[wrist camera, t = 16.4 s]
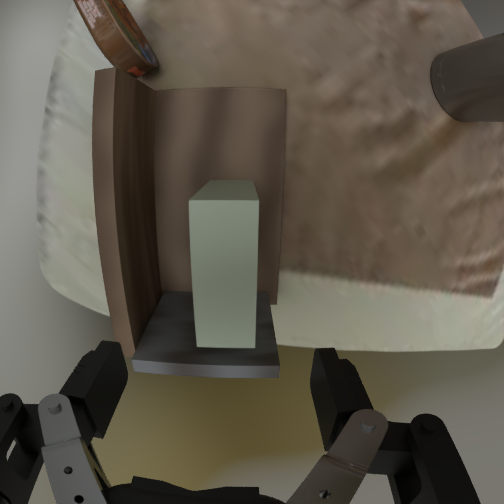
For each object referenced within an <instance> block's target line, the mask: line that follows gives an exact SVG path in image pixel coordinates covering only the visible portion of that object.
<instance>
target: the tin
mask: <svg viewBox="0 0 504 504" xmlns="http://www.w3.org/2000/svg"><path fill="white" fill-rule="evenodd" d="M74 2H75V5H76V7H77V9H78V10H79V13H80V14H81V16H82V18H83V20H84V22H85V24H86V26H87V28H88V30H89V31H90V33H91V35H92V37H93V39H94V41H95V42H96V44H97V46H98V47H99V49H100V50H101V52H102V53H103V54H104V56H105V57H106V58H107V59H108V60H109V62H110V63H111V64H112V65H113V66H114V67H117V68H118V69H120V70H122V71H124V72H125V73H127V74H129V75H130V76H132V77H134V78H139V77H141V76H142V75H144V74H145V73H147V72H148V71H149V70H151V69H152V68H156V67H157V66H158V62H157V58H156V56H155V54H154V52H153V50H152V48H151V46H150V45H149V43H148V41H147V40H146V38H145V36H144V35H143V33H142V32H141V30H140V28H139V27H138V25H137V23H136V22H135V20H134V18H133V17H132V15H131V13H130V12H129V10H128V9H127V7H126V5H125V4H124V2H123V1H122V0H74Z"/></svg>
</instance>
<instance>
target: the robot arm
mask: <svg viewBox="0 0 504 504" xmlns="http://www.w3.org/2000/svg"><path fill="white" fill-rule="evenodd" d="M431 81H432V86H433V90H434V93H435V95H436V97H437V99H438V101H439V103H440V104H441V106H442V107H443V108H444V110H445V111H446V112H447V113H448V114H449V115H451V116H452V117H453V118H455V119H457V120H460V121H463V122H475V121H484V122H504V33H502V34H498V35H495V36H491V37H488V38H485V39H482V40H478V41H475V42H472V43H469V44H466V45H463V46H460V47H457V48H455V49H452V50H449V51H446V52H444V53H441V54H439V55H438V56H437V57H436V58H435V60H434V62H433V64H432V68H431ZM77 365H78V366H76V367H75V369H74V370H73V371H74V372H72V373H71V375H70V376H69V378H68V380H67V381H66V383H65V384H64V386H63V387H62V389H61V390H60V392H59V394H51V395H48V396H46V397H45V398H43V399H42V400H41V401H40V403H39V404H23V402H22V400H21V399H20V397H19V396H18V395H16V394H11V393H10V394H5V395H3V396H1V397H0V504H28V501H29V498H30V496H31V493H32V490H33V488H34V485H35V482H36V480H37V477H38V475H39V472H40V470H41V467H42V465H43V463H45V466H46V470H47V474H48V477H49V481H50V484H51V488H52V491H53V494H54V497H55V500H56V503H57V504H349V503H350V502H351V500H352V498H353V497H354V495H355V493H356V491H357V490H358V488H359V486H360V484H361V483H362V481H363V479H364V477H365V475H366V473H370V474H384V475H387V476H388V480H389V483H390V487H391V491H392V495H393V498H394V502H395V504H481V503H480V501H479V498H478V496H477V493H476V491H475V489H474V486H473V484H472V482H471V479H470V477H469V475H468V473H467V470H466V468H465V466H464V464H463V461H462V459H461V457H460V455H459V453H458V451H457V449H456V447H455V444H454V442H453V440H452V438H451V436H450V434H449V432H448V430H447V428H446V426H445V424H444V423H443V421H442V420H441V419H440V418H439V417H437V416H435V415H432V414H420V415H417V416H416V417H415V418H413V420H412V422H411V423H398V422H390V421H387V419H386V417H385V416H384V415H383V414H382V413H380V412H378V411H376V410H374V409H373V406H372V404H371V402H370V399H369V397H368V395H367V393H366V390H365V388H364V386H363V384H362V381H361V379H360V377H359V374H358V372H357V370H356V368H355V366H354V365H353V364H352V363H351V362H350V361H349V360H347V359H339V358H338V355H337V353H336V350H335V348H316V349H315V352H314V358H313V365H312V371H311V377H310V388H311V394H312V398H313V402H314V406H315V410H316V414H317V418H318V423H319V427H320V432H321V436H322V440H323V445H324V449H325V451H328V453H327V454H326V455H323V456H322V457H321V458H320V459H319V461H318V462H317V463H316V465H315V466H314V468H313V469H312V470H311V472H310V473H309V474H308V476H307V477H306V478H305V480H304V481H303V482H302V483H301V485H300V486H299V487H298V489H297V490H296V491H295V492H294V494H293V495H292V496H291V497H290V499H289V500H288V501H287V502H286V503H284V502H282V501H280V500H278V499H275V498H273V497H269V496H266V495H260V494H259V487H221V488H214V489H208V490H199V491H191V490H187V489H184V488H181V487H178V486H175V485H172V484H170V483H167V482H164V481H160V480H154V479H147V478H142V477H136V476H133V479H132V482H131V483H130V484H129V483H128V484H120V485H116V486H113V487H112V486H111V484H110V483H109V481H108V479H107V477H106V475H105V473H104V471H103V469H102V466H101V464H100V462H99V460H98V457H97V455H96V452H95V450H94V448H93V445H92V443H91V441H92V438H93V437H97V438H101V439H103V438H104V435H105V433H106V430H107V428H108V426H109V423H110V421H111V419H112V416H113V414H114V412H115V409H116V407H117V405H118V402H119V400H120V398H121V395H122V393H123V391H124V388H125V386H126V384H127V380H128V371H127V367H126V363H125V359H124V355H123V351H122V347H121V344H120V343H119V342H113V341H104V340H103V341H101V342H100V344H99V345H98V347H97V348H96V350H95V351H92V350H91V351H90V352H89V353H87V354H86V355H84V356H83V357H82V359H81V360H80V361H79V363H78V364H77ZM13 440H14V441H15V442H16V444H15V446H14V448H13V450H12V452H11V454H10V456H9V459H8V461H7V458H6V455H7V451H8V450H9V448H10V446H11V444H12V442H13Z"/></svg>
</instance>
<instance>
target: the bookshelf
mask: <svg viewBox="0 0 504 504" xmlns="http://www.w3.org/2000/svg"><path fill="white" fill-rule="evenodd" d="M285 115H286V89H271V88H236V87H223V88H189V89H172V90H159V91H155V90H153V89H152V88H150V87H148V86H147V85H145V84H144V83H142V82H140V81H139V80H137V79H135V78H134V77H132V76H130V75H129V74H127V73H125V72H124V71H122V70H120V69H118V68H117V67H113V68H108V69H103V70H97V71H95V81H94V96H93V121H92V161H93V186H94V202H95V215H96V225H97V235H98V244H99V252H100V259H101V266H102V273H103V279H104V285H105V291H106V297H107V302H108V307H109V312H110V317H111V322H112V327H113V331H114V335H115V340H116V342H119V343H120V344H121V347H122V351H123V355H124V356H127V357H132V359H131V360H132V364H133V368H134V371H136V372H146V373H155V374H167V375H180V376H198V377H223V378H225V377H226V378H278V377H279V370H280V363H279V356H278V351H277V344H276V338H275V332H274V326H273V320H272V314H271V308H270V305H277V293H278V277H279V260H280V242H281V223H282V201H283V178H284V150H285ZM210 180H253V182H254V185H255V189H256V192H257V195H258V199H259V226H258V264H257V300H256V334H255V348H214V347H197V342H196V330H195V318H194V304H193V289H192V273H191V253H190V229H189V200H190V199H191V198H192V197H193V196H194V195H195V194H196V193H197V192H198V191H199V190H200V189H201V188H202V187H203V186H204V185H206V184H207V183H208V182H209V181H210Z"/></svg>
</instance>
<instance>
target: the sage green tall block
mask: <svg viewBox="0 0 504 504" xmlns="http://www.w3.org/2000/svg"><path fill="white" fill-rule="evenodd" d="M258 226H259V199H258V195H257V192H256V189H255V185H254V182H253V180H210V181H209V182H208V183H207V184H206V185H204V186H203V187H202V188H201V189H200V190H199V191H198V192H197V193H196V194H195V195H194V196H193V197H192V198H191V199H190V200H189V229H190V253H191V273H192V289H193V304H194V318H195V330H196V342H197V347H214V348H255V334H256V300H257V264H258Z"/></svg>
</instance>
